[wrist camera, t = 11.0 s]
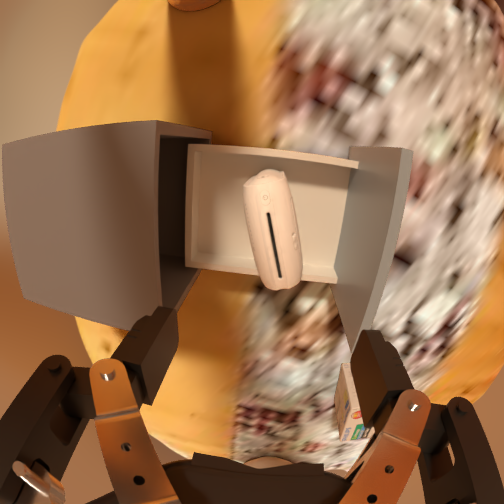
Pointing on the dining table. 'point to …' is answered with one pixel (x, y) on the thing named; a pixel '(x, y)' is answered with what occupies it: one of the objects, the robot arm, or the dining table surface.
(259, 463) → the cereal bowl
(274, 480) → the robot arm
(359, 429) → the light bulb box
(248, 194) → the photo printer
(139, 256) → the cabinet
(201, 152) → the drawer tray
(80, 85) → the dining table surface
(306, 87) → the dining table surface
